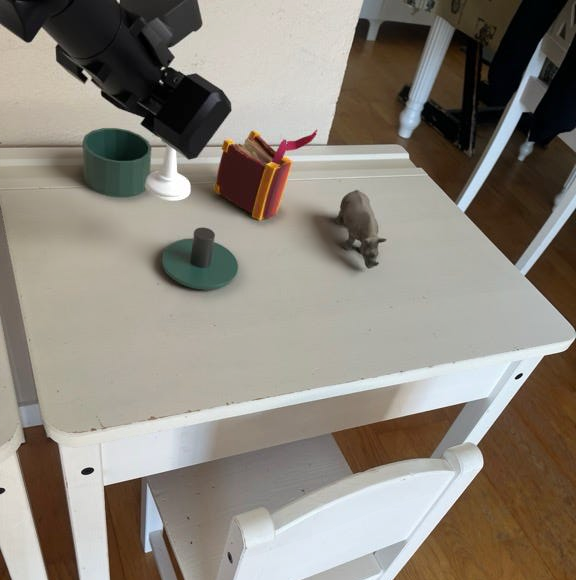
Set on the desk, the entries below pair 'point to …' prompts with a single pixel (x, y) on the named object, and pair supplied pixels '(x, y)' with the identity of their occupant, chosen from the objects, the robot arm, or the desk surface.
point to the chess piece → (168, 179)
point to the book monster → (256, 173)
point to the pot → (116, 162)
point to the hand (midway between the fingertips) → (182, 128)
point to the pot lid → (200, 261)
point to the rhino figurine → (360, 226)
